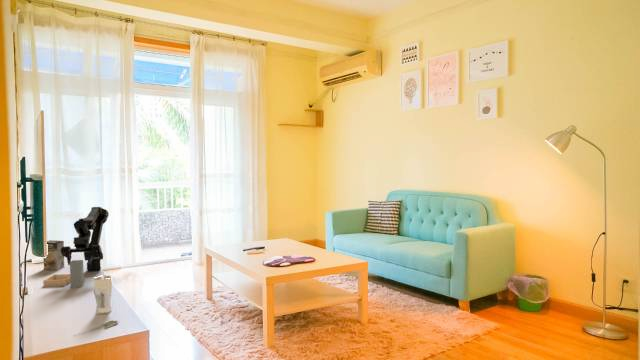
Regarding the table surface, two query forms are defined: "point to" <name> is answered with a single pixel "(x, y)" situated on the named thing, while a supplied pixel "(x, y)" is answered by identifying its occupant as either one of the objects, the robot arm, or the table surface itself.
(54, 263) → the coffee box
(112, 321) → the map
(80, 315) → the table surface
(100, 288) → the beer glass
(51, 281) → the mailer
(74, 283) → the slate block
